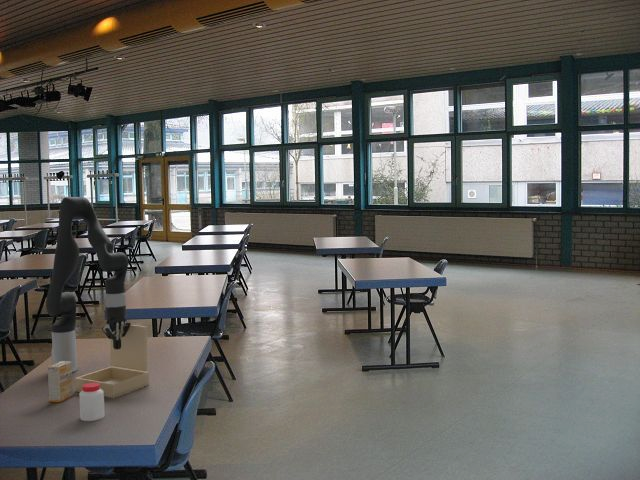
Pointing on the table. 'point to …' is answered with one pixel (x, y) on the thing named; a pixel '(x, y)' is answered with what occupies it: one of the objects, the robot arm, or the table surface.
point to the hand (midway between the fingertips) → (117, 349)
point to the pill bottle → (91, 402)
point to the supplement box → (60, 381)
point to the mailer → (114, 380)
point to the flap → (131, 349)
